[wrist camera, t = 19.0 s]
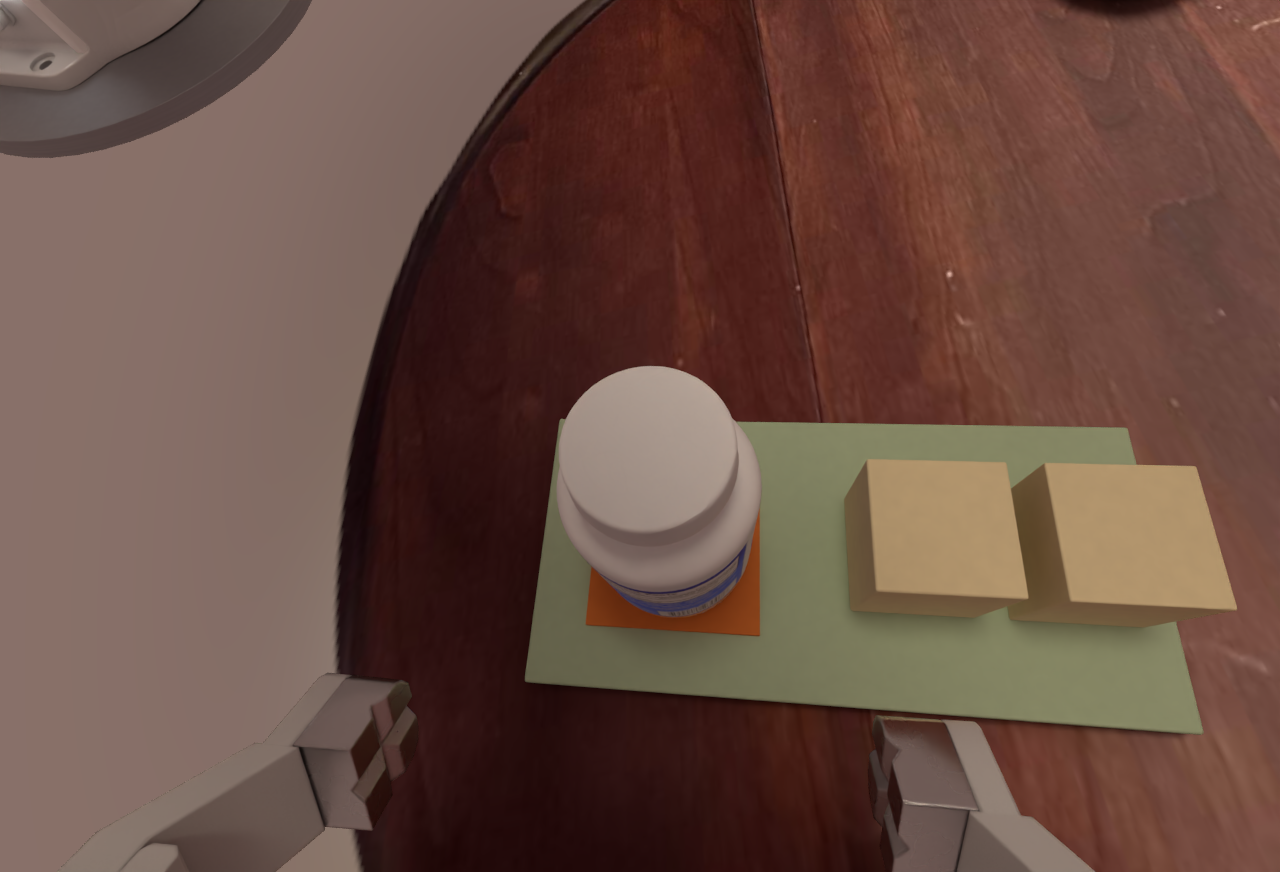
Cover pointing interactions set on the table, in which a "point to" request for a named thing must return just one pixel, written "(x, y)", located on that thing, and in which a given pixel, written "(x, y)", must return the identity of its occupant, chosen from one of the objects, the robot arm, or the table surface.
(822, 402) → the table surface
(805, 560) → the word mat
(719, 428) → the pill bottle
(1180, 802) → the table surface
